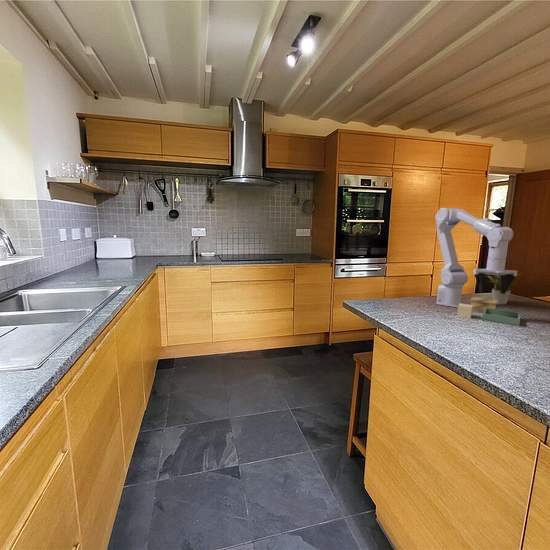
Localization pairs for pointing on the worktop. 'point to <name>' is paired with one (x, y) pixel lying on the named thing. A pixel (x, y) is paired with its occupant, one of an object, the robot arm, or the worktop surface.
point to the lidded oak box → (482, 304)
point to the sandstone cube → (465, 310)
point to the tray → (501, 316)
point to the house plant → (496, 291)
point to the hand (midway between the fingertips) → (491, 292)
